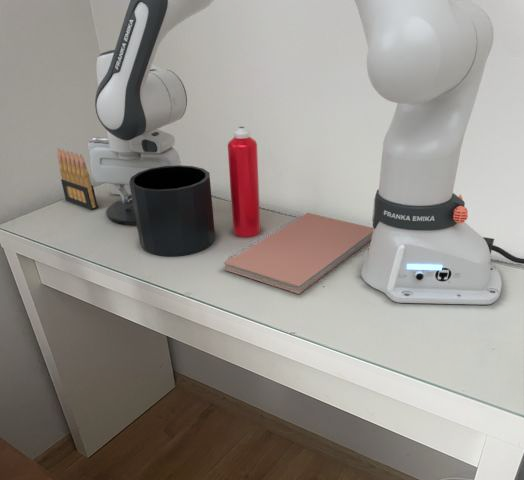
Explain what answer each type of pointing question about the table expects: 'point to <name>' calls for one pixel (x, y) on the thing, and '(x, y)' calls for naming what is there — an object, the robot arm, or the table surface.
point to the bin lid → (121, 213)
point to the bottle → (244, 183)
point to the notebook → (299, 251)
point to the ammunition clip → (76, 180)
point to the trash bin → (173, 210)
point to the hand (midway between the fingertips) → (141, 204)
